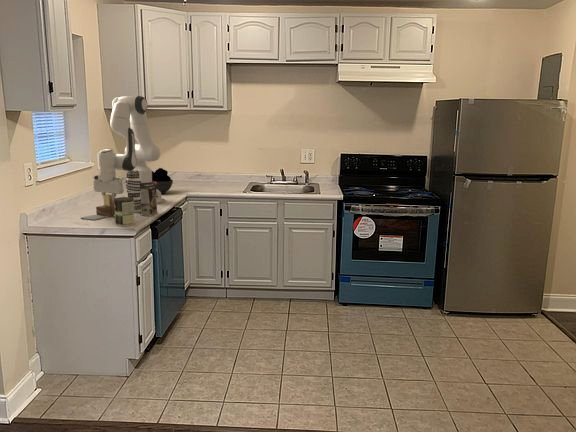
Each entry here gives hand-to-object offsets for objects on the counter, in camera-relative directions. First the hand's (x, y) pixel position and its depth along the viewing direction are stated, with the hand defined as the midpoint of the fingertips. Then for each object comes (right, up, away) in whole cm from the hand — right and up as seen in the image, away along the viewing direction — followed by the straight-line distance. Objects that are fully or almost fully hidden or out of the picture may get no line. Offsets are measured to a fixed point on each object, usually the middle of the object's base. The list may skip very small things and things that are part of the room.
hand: (109, 200), depth 301 cm
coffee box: (+23, -9, +4) cm, 25 cm away
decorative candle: (+11, -6, +14) cm, 19 cm away
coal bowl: (+10, +7, +78) cm, 79 cm away
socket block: (0, -8, +2) cm, 9 cm away
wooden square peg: (0, -8, +2) cm, 9 cm away
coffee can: (+16, -14, -22) cm, 31 cm away
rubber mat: (-6, -11, -9) cm, 15 cm away
